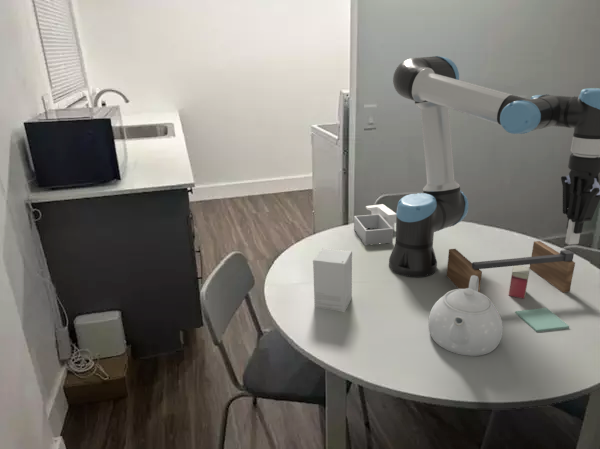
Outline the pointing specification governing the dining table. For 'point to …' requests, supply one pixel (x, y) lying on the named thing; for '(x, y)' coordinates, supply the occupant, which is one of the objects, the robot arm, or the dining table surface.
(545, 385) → the dining table surface
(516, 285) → the small box
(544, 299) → the dining table surface
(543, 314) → the pad
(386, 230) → the box
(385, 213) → the bracket
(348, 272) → the supplement box
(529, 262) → the tie bar
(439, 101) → the robot arm
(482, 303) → the teapot
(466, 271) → the rack
